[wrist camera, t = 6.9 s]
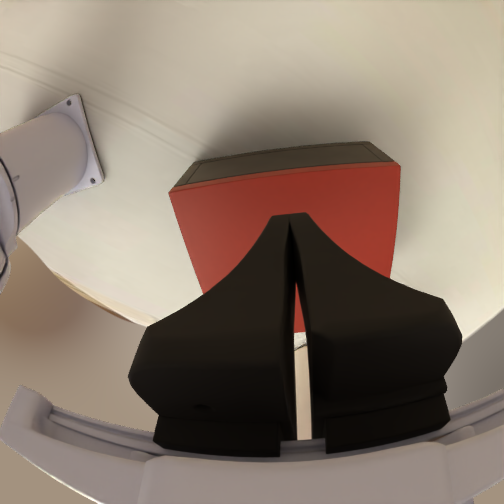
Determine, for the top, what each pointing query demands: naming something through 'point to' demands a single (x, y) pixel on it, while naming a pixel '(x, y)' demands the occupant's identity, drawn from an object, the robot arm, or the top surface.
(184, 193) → the lid
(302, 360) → the cream vase
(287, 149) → the dark square storage tray
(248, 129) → the top surface
